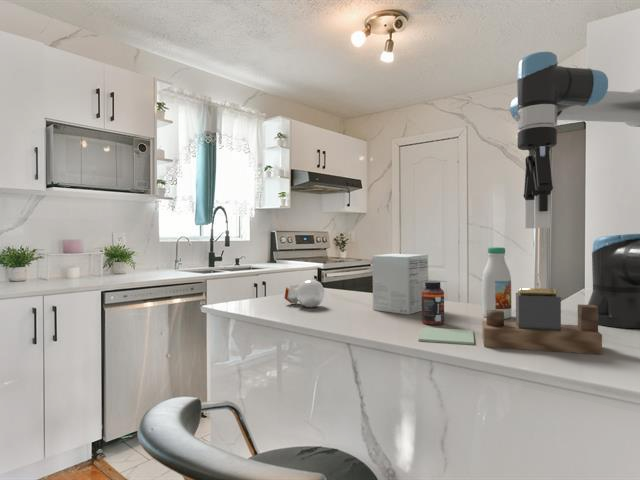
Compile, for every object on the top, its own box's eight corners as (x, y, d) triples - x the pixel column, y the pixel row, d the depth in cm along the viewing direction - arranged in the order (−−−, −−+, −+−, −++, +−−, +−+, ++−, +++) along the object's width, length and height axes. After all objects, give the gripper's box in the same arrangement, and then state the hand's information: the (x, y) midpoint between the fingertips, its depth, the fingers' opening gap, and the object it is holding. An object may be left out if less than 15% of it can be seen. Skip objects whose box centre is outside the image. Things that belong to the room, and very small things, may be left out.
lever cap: (555, 325, 94) (555, 287, 94) (560, 330, 89) (560, 290, 89) (515, 323, 96) (515, 286, 96) (518, 328, 92) (518, 289, 91)
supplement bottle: (445, 325, 113) (445, 283, 112) (422, 325, 114) (421, 282, 114) (443, 321, 118) (443, 280, 118) (421, 320, 120) (421, 280, 119)
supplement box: (429, 308, 137) (429, 254, 137) (408, 315, 127) (408, 256, 127) (394, 304, 146) (393, 253, 146) (371, 310, 136) (371, 255, 136)
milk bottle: (484, 319, 120) (483, 248, 120) (480, 313, 128) (480, 246, 127) (513, 320, 118) (513, 247, 118) (508, 314, 126) (508, 246, 125)
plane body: (590, 344, 93) (590, 303, 93) (601, 354, 86) (602, 309, 85) (482, 337, 100) (482, 299, 100) (484, 346, 92) (484, 305, 92)
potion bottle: (320, 314, 138) (289, 313, 149) (335, 293, 144) (305, 294, 155) (305, 292, 135) (275, 293, 145) (321, 272, 141) (291, 275, 151)
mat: (472, 332, 105) (472, 330, 105) (474, 344, 94) (474, 342, 94) (422, 329, 109) (422, 327, 109) (418, 341, 98) (418, 338, 98)
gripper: (511, 141, 105) (511, 228, 105) (525, 116, 81) (525, 228, 81) (545, 139, 102) (545, 228, 103) (570, 112, 79) (570, 228, 79)
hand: (536, 228), depth 92 cm, fingers open, 13 cm apart
